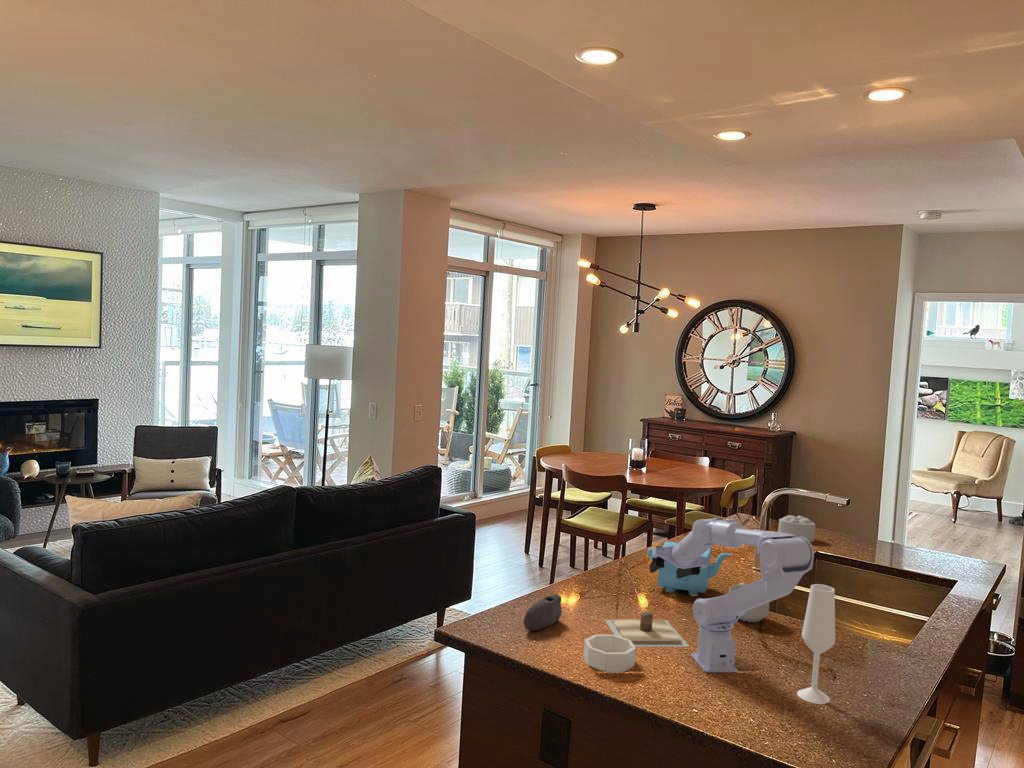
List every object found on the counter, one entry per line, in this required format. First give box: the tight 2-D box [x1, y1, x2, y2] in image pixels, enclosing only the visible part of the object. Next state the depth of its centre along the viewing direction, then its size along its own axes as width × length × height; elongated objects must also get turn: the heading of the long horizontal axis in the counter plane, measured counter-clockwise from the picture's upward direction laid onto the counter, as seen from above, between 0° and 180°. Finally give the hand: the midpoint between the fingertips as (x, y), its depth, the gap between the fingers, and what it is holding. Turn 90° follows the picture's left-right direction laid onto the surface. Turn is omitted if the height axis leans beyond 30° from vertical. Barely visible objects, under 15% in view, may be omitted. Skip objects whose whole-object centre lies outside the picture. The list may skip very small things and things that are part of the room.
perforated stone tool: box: [523, 593, 563, 632], centre depth 200 cm, size 15×5×7 cm, turn 141°
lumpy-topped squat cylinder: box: [777, 514, 816, 542], centre depth 305 cm, size 10×13×9 cm
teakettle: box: [646, 540, 733, 596], centre depth 235 cm, size 19×19×15 cm
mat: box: [604, 619, 690, 648], centre depth 198 cm, size 17×17×1 cm
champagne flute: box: [796, 583, 836, 705], centre depth 168 cm, size 7×7×24 cm
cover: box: [611, 611, 682, 644], centre depth 198 cm, size 14×14×5 cm
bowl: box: [583, 634, 637, 674], centre depth 180 cm, size 11×11×4 cm
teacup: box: [728, 582, 770, 623], centre depth 215 cm, size 14×11×8 cm
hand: (664, 571), depth 202 cm, fingers open, 7 cm apart
